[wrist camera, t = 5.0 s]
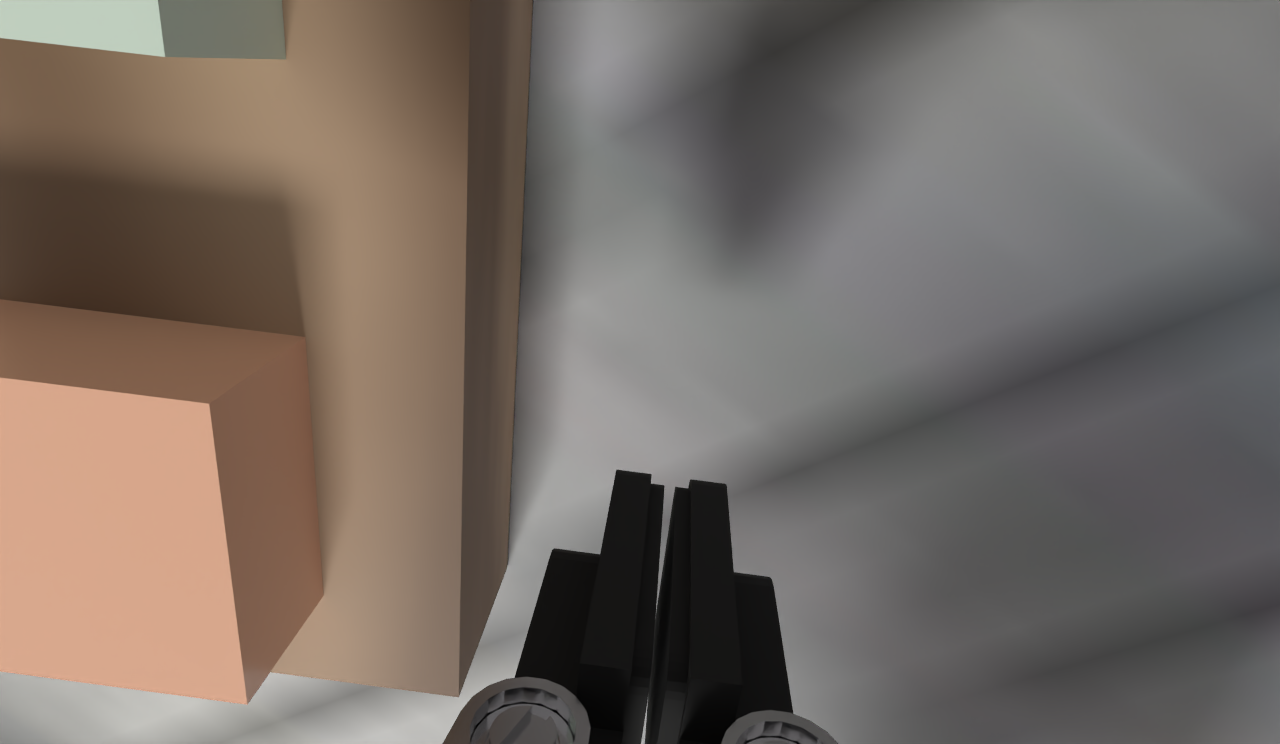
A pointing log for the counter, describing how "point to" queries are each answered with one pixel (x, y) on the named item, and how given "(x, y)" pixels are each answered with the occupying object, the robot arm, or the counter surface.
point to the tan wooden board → (317, 275)
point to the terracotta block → (153, 501)
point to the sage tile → (152, 26)
